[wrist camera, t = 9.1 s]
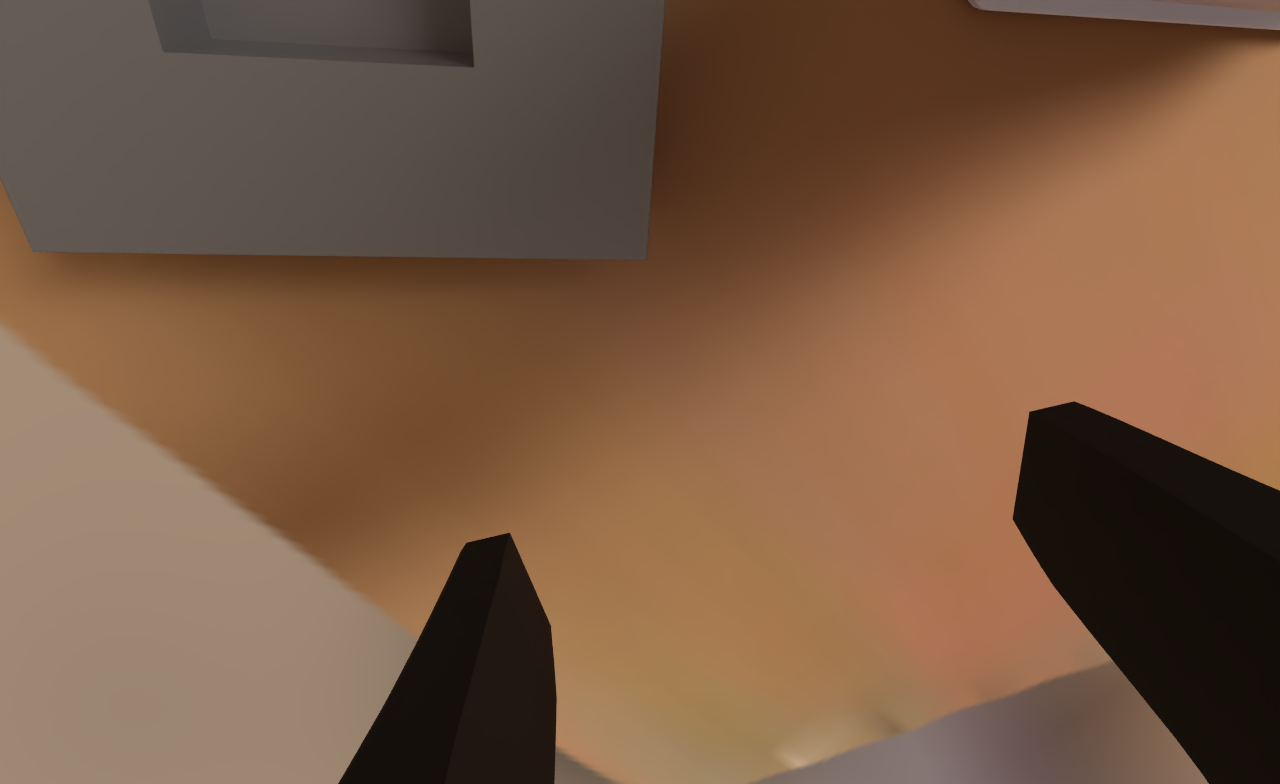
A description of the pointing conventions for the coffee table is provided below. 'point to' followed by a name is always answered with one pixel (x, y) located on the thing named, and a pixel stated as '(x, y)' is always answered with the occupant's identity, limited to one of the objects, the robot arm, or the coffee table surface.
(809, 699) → the coffee table surface
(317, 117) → the block
